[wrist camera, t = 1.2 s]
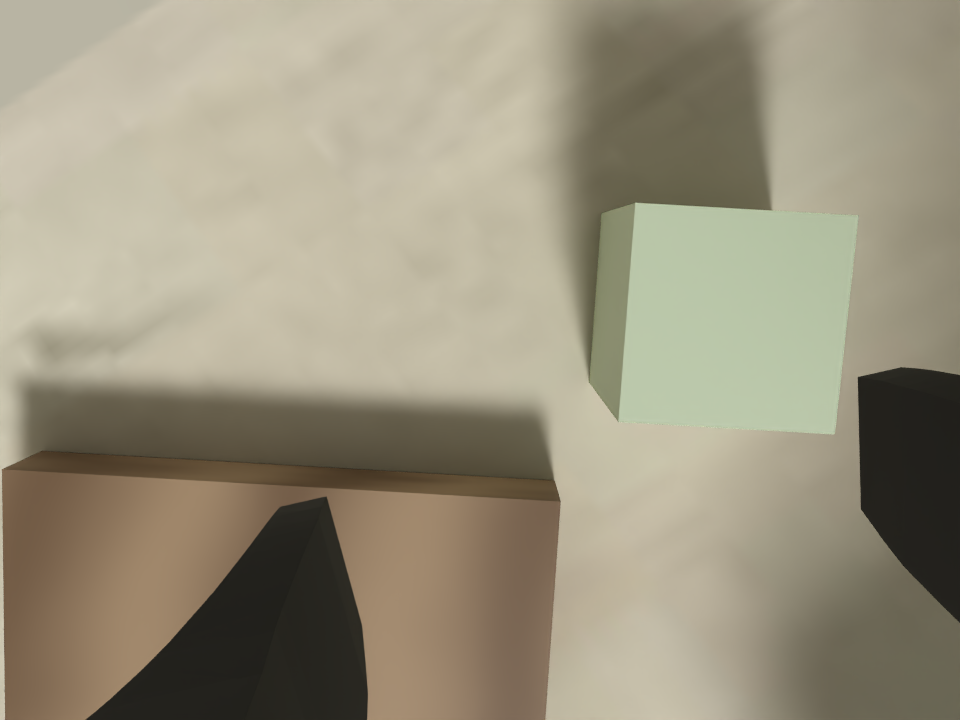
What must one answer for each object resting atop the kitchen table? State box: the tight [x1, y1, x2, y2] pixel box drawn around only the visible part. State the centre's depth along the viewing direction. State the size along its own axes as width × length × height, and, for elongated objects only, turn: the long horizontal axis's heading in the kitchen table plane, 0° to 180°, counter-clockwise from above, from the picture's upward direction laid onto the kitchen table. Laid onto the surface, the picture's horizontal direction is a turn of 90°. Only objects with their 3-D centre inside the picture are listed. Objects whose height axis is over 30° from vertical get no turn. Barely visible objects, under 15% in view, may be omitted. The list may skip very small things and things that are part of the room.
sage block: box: [589, 203, 859, 434], centre depth 21 cm, size 4×4×6 cm
